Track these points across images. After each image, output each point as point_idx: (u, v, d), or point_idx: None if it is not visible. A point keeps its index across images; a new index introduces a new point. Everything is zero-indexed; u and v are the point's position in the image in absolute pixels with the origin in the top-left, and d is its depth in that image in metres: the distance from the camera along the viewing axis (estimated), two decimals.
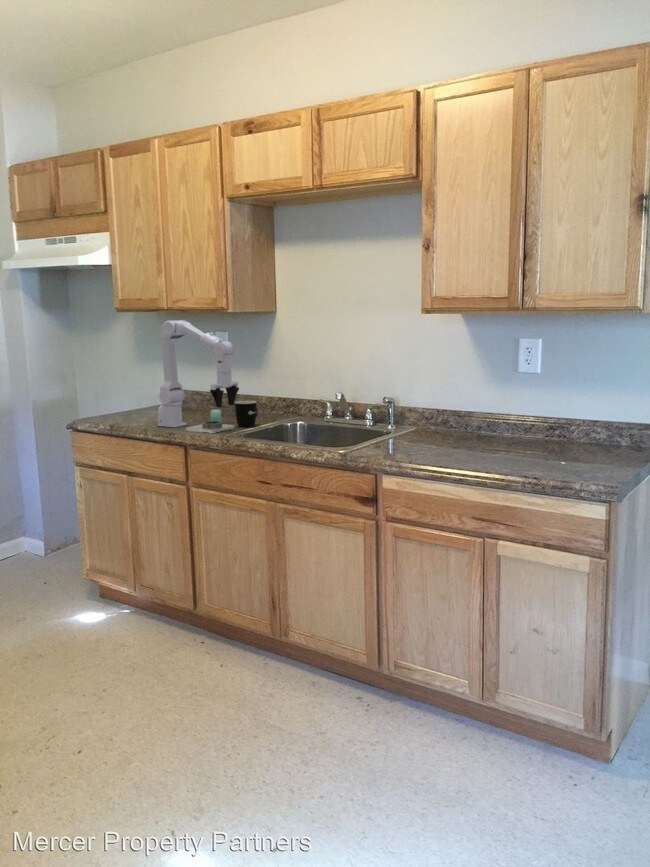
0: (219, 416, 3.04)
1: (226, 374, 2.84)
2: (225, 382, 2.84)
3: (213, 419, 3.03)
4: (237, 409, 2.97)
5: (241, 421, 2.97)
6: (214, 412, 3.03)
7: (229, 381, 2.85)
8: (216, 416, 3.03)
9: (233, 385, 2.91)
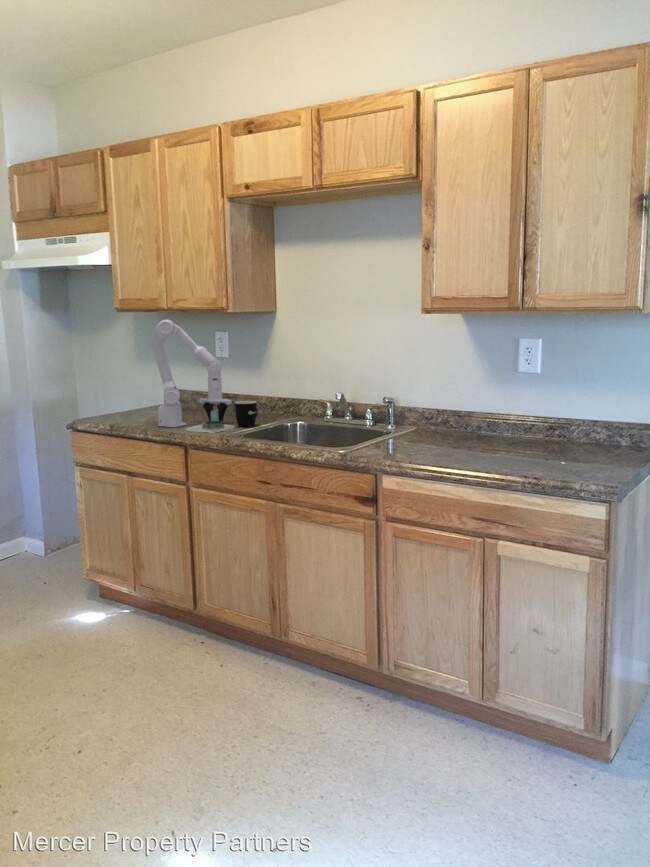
0: None
1: (208, 390, 3.02)
2: (208, 398, 3.03)
3: (213, 419, 3.03)
4: (237, 409, 2.97)
5: (241, 421, 2.97)
6: (214, 412, 3.03)
7: (211, 397, 3.01)
8: (216, 416, 3.03)
9: (226, 403, 3.02)
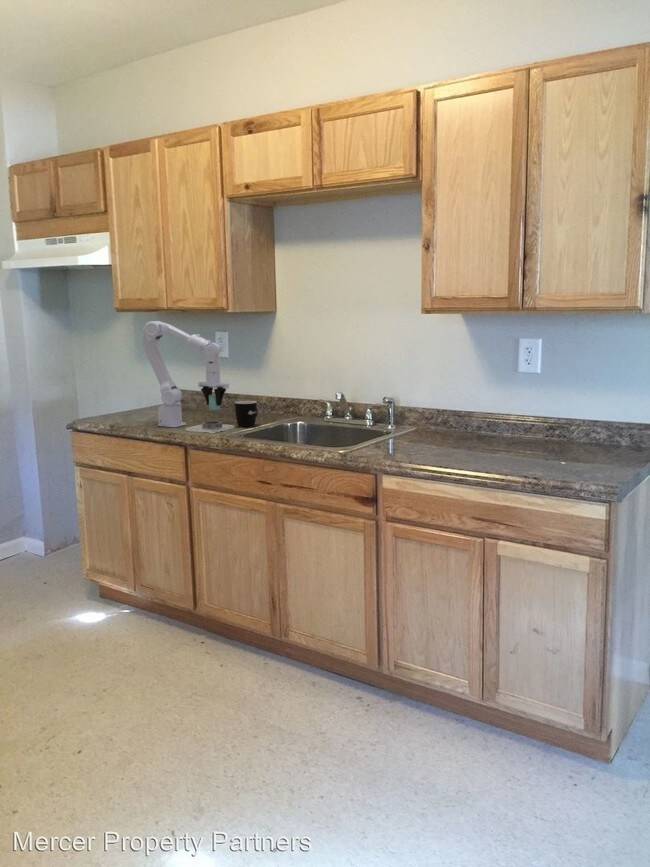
0: None
1: (206, 374, 2.97)
2: (206, 381, 2.98)
3: (211, 404, 2.98)
4: (237, 409, 2.97)
5: (241, 421, 2.97)
6: (212, 396, 2.98)
7: (208, 381, 2.96)
8: (214, 400, 2.98)
9: (223, 387, 2.96)
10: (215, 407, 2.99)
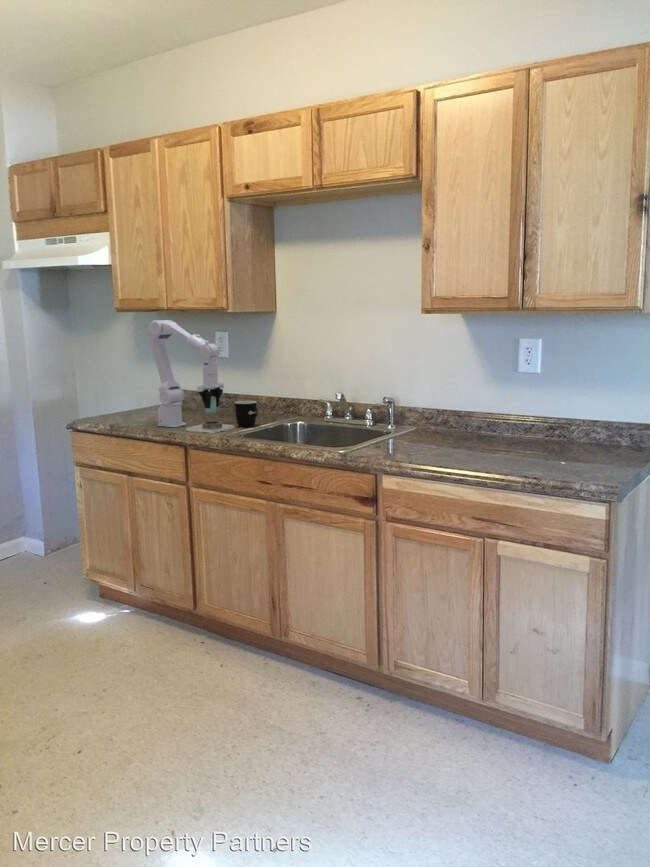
0: None
1: (212, 376, 2.88)
2: (211, 384, 2.89)
3: (215, 406, 2.92)
4: (237, 409, 2.97)
5: (241, 421, 2.97)
6: (215, 398, 2.92)
7: (215, 383, 2.89)
8: None
9: (219, 387, 2.96)
10: None
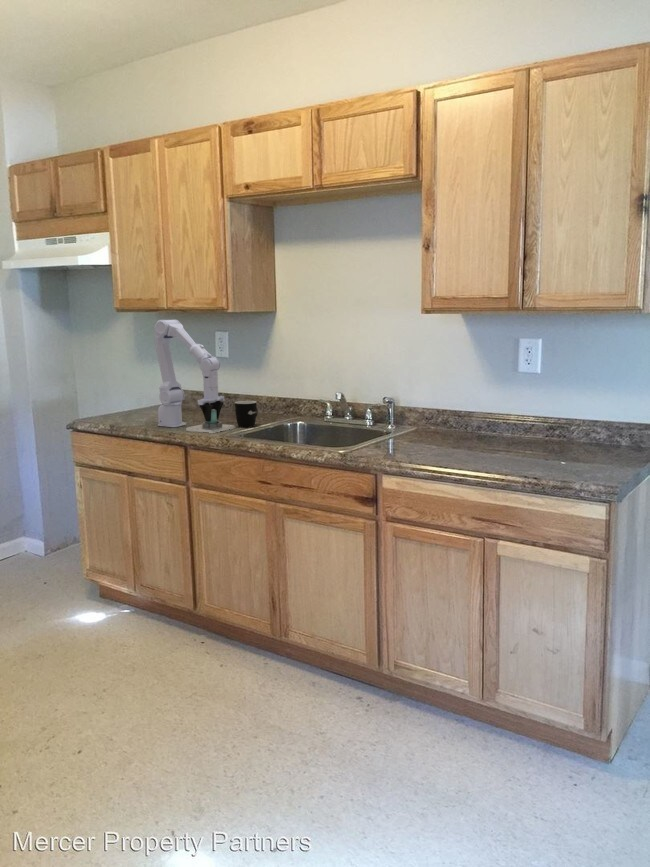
0: None
1: (213, 389, 2.89)
2: (212, 397, 2.89)
3: (215, 419, 2.93)
4: (237, 409, 2.97)
5: (241, 421, 2.97)
6: (216, 412, 2.93)
7: (216, 396, 2.90)
8: (216, 415, 2.94)
9: (219, 400, 2.97)
10: None
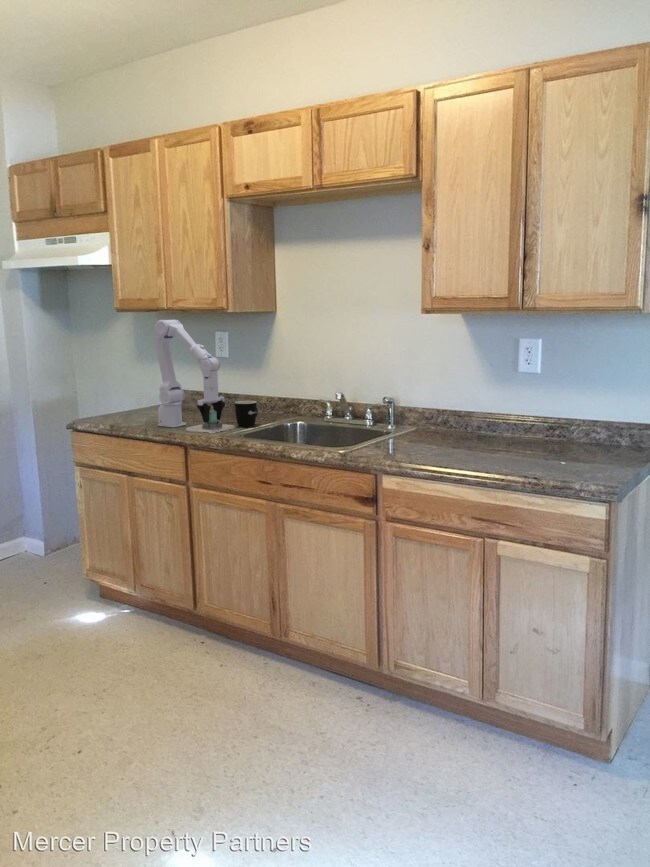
0: None
1: (213, 390, 2.89)
2: (212, 397, 2.89)
3: (215, 420, 2.93)
4: (237, 409, 2.97)
5: (241, 421, 2.97)
6: (216, 412, 2.93)
7: (216, 396, 2.90)
8: (216, 416, 2.94)
9: (219, 400, 2.97)
10: None
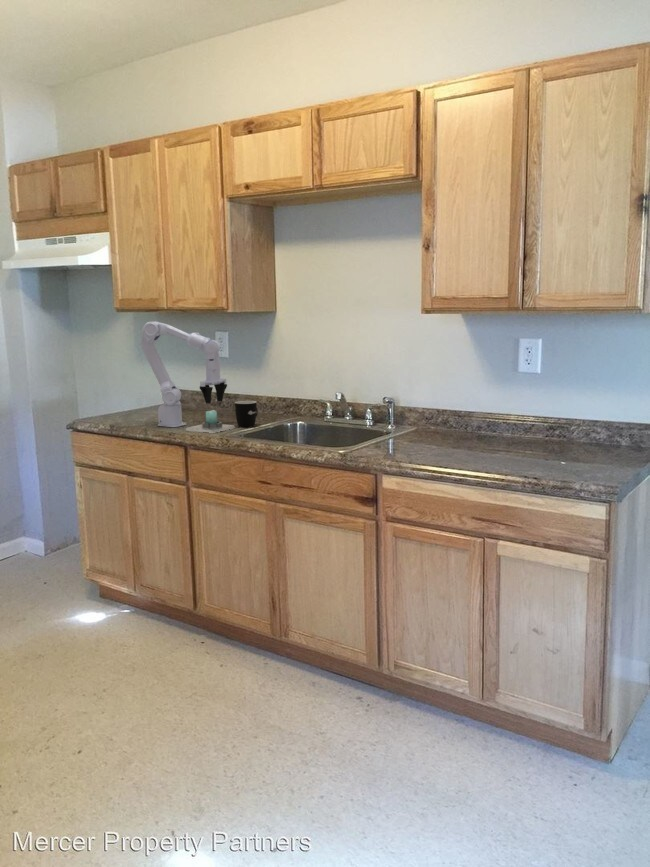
0: None
1: (215, 371, 2.97)
2: (214, 379, 2.97)
3: (216, 420, 2.93)
4: (237, 409, 2.97)
5: (241, 421, 2.97)
6: (216, 412, 2.93)
7: (218, 378, 2.98)
8: (216, 416, 2.94)
9: (221, 382, 3.04)
10: None
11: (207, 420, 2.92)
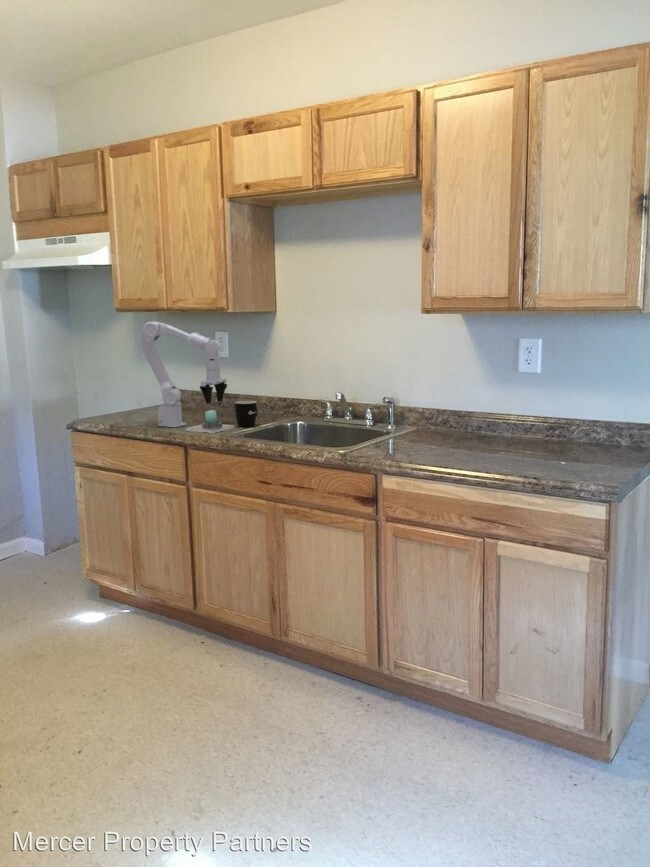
0: None
1: (215, 371, 2.97)
2: (214, 379, 2.98)
3: (215, 420, 2.93)
4: (237, 409, 2.97)
5: (241, 421, 2.97)
6: (215, 412, 2.93)
7: (218, 378, 2.99)
8: None
9: (221, 382, 3.05)
10: None
11: (207, 420, 2.92)
